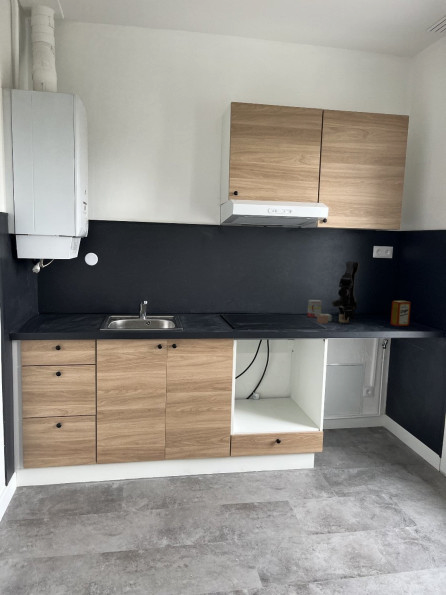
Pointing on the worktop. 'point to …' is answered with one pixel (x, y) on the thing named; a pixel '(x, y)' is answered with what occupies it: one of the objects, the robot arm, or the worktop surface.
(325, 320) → the terracotta cube
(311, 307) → the ink box
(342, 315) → the maple cube
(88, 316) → the worktop surface
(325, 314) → the sage block
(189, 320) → the worktop surface
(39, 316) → the worktop surface
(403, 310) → the baking soda box
